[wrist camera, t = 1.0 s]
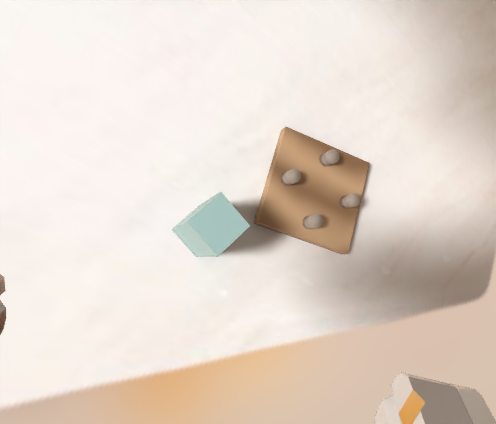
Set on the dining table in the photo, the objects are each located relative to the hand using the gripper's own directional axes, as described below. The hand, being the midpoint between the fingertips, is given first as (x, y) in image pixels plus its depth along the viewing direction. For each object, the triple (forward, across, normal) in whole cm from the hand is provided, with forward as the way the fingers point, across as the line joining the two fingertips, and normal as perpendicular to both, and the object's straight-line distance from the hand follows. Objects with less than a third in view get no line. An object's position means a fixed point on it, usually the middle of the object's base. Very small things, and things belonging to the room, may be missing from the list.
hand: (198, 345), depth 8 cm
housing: (+40, -8, +11) cm, 42 cm away
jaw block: (+32, +4, +16) cm, 36 cm away
